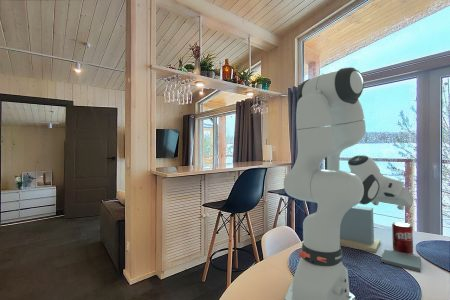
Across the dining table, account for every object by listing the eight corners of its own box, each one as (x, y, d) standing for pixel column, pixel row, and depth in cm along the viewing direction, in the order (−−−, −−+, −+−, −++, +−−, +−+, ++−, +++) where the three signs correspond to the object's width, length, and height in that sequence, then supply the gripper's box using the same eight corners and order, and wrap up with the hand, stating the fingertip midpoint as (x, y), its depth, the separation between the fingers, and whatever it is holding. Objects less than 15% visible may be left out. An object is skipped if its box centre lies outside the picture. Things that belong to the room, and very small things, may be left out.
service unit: (375, 252, 101) (374, 212, 101) (332, 243, 113) (331, 207, 113) (380, 243, 112) (379, 206, 112) (340, 235, 123) (339, 202, 124)
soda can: (417, 254, 98) (416, 226, 98) (400, 255, 98) (399, 226, 99) (404, 247, 105) (404, 221, 106) (389, 248, 106) (388, 222, 106)
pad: (420, 271, 84) (420, 268, 84) (381, 262, 92) (381, 259, 92) (420, 260, 93) (420, 257, 93) (384, 252, 101) (384, 249, 101)
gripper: (346, 188, 99) (360, 207, 104) (401, 195, 82) (415, 218, 86) (352, 177, 102) (365, 196, 106) (407, 181, 84) (420, 204, 89)
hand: (388, 206), depth 96 cm, fingers open, 8 cm apart
